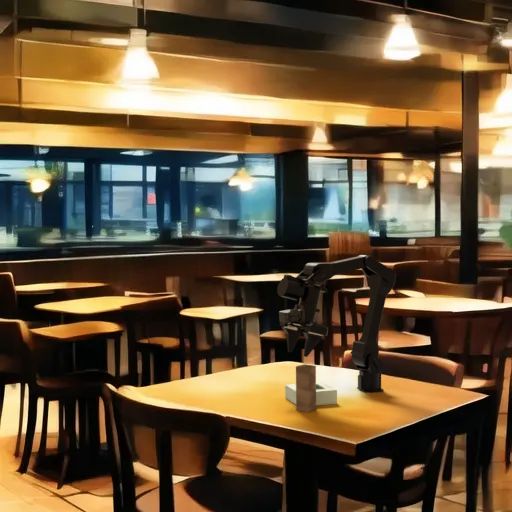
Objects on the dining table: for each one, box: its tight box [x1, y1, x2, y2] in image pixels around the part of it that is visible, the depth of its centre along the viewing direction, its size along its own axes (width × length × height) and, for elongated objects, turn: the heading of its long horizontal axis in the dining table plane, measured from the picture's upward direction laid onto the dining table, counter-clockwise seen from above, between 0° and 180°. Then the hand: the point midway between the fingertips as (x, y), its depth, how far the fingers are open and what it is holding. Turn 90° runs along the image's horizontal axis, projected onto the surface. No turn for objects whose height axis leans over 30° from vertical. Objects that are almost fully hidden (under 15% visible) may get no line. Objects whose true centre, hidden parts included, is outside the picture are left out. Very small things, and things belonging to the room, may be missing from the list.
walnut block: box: [295, 363, 317, 413], centre depth 210 cm, size 4×4×12 cm
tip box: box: [284, 381, 338, 406], centre depth 221 cm, size 12×12×4 cm
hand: (297, 354), depth 222 cm, fingers open, 9 cm apart
